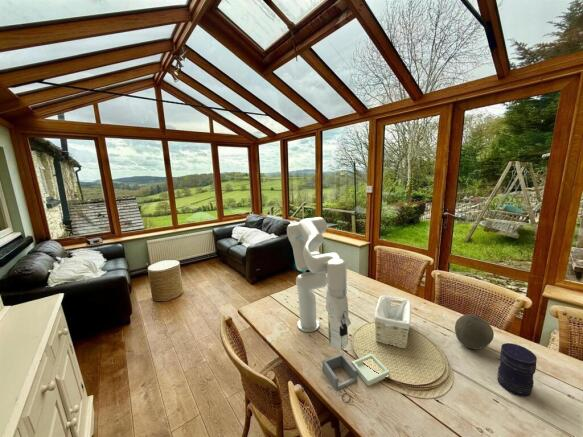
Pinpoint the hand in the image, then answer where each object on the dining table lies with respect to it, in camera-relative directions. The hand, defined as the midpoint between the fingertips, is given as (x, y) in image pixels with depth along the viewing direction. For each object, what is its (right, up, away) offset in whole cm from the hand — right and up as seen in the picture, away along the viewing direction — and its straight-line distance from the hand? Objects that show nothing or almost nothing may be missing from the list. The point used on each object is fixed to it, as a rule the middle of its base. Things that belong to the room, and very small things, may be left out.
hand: (337, 328), depth 97 cm
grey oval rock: (+67, -16, +16) cm, 71 cm away
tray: (+15, -21, +5) cm, 26 cm away
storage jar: (+67, -20, -5) cm, 71 cm away
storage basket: (+35, -15, +28) cm, 47 cm away
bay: (+1, -22, +4) cm, 22 cm away
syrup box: (+1, -7, +1) cm, 7 cm away
